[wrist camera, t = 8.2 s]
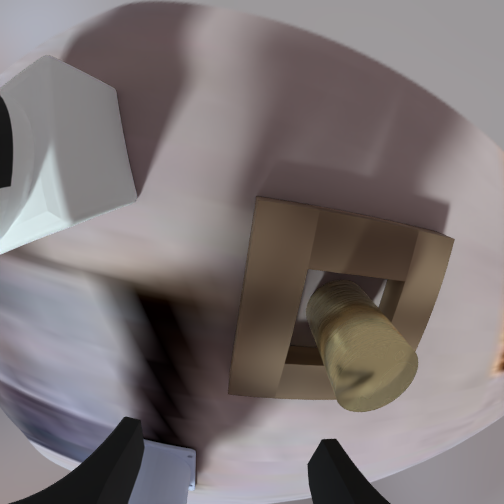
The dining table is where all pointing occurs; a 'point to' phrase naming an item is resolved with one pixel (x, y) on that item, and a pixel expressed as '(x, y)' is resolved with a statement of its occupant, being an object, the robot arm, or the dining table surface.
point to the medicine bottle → (59, 152)
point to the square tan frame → (332, 260)
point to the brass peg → (359, 347)
